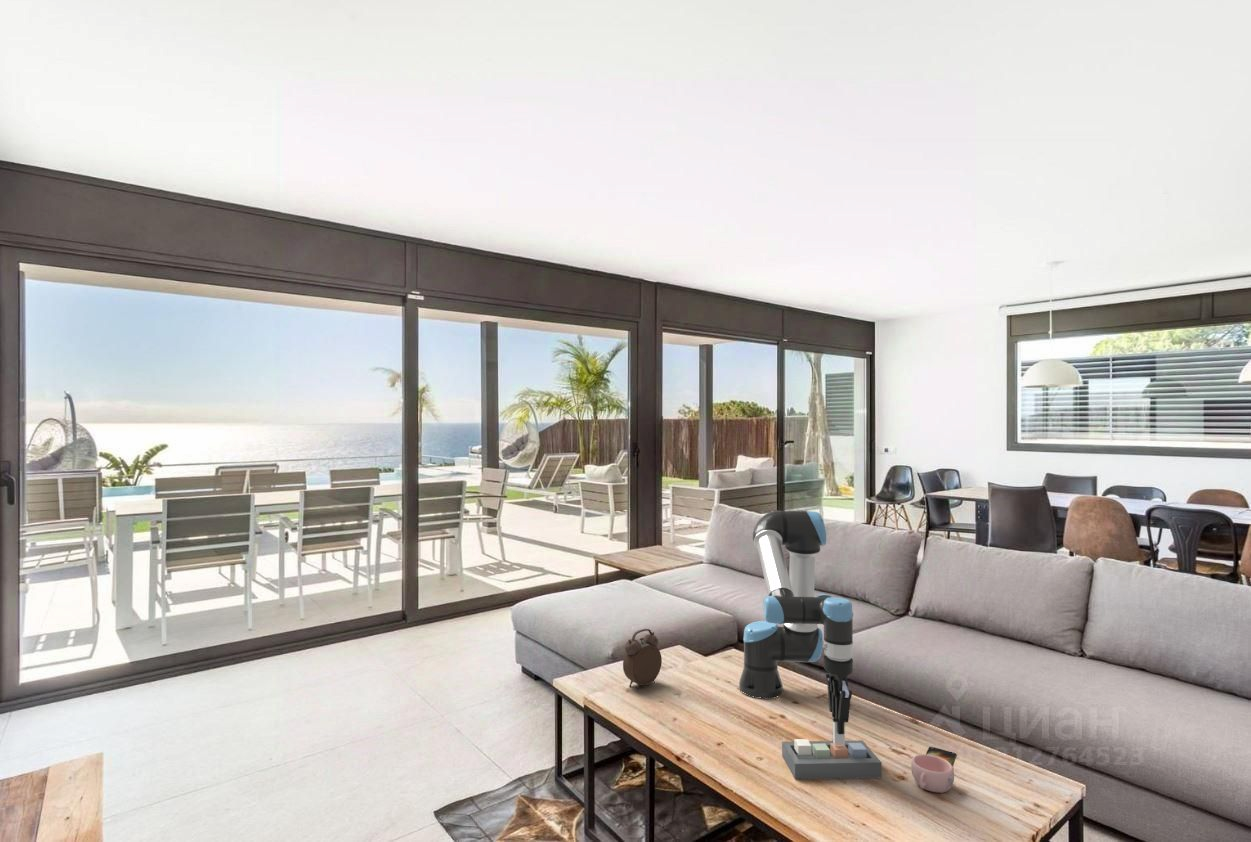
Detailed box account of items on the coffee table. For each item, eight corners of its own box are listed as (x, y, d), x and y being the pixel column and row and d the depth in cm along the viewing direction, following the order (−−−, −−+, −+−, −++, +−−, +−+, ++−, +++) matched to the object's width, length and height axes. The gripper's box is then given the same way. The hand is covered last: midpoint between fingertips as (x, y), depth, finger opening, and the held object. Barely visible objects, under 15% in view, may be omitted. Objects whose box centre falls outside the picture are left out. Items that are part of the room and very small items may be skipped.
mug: (921, 772, 168) (921, 749, 168) (960, 787, 160) (960, 763, 160) (900, 788, 160) (900, 765, 160) (941, 805, 152) (941, 780, 152)
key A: (848, 751, 172) (848, 743, 172) (861, 751, 172) (861, 742, 173) (853, 758, 169) (853, 749, 169) (866, 758, 169) (866, 749, 169)
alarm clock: (649, 677, 234) (649, 623, 235) (663, 683, 229) (663, 627, 229) (619, 687, 225) (619, 631, 225) (632, 693, 219) (632, 635, 220)
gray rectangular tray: (782, 756, 176) (782, 741, 176) (862, 754, 177) (862, 740, 177) (795, 779, 164) (794, 763, 164) (881, 777, 165) (881, 762, 165)
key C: (812, 752, 172) (812, 743, 172) (825, 752, 172) (825, 743, 172) (816, 759, 168) (816, 750, 168) (830, 759, 169) (829, 749, 169)
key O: (794, 748, 172) (794, 739, 172) (807, 748, 172) (807, 739, 172) (798, 754, 168) (798, 745, 168) (811, 754, 168) (811, 745, 168)
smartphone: (956, 753, 177) (948, 775, 165) (956, 755, 177) (948, 778, 165) (929, 745, 181) (919, 767, 169) (929, 748, 181) (919, 770, 169)
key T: (830, 752, 172) (830, 743, 172) (843, 752, 172) (843, 743, 172) (835, 758, 169) (835, 749, 169) (848, 758, 169) (848, 749, 169)
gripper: (816, 648, 178) (817, 732, 177) (833, 665, 165) (834, 756, 164) (842, 648, 178) (843, 732, 177) (861, 665, 165) (862, 755, 164)
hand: (838, 743), depth 171 cm, fingers closed
